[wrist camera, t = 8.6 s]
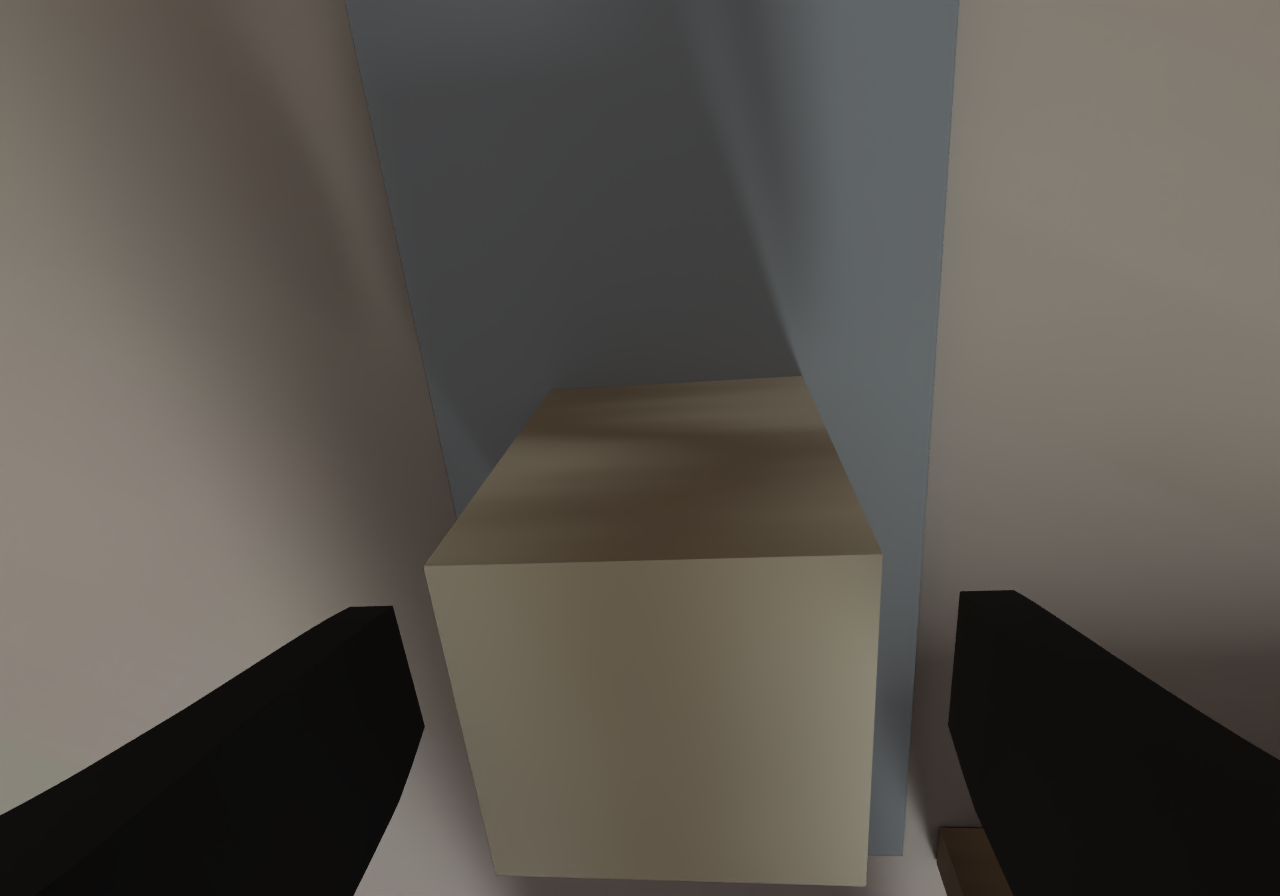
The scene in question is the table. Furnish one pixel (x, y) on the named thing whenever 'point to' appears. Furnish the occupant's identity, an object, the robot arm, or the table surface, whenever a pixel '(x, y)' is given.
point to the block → (667, 639)
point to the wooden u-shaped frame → (969, 864)
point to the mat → (681, 232)
